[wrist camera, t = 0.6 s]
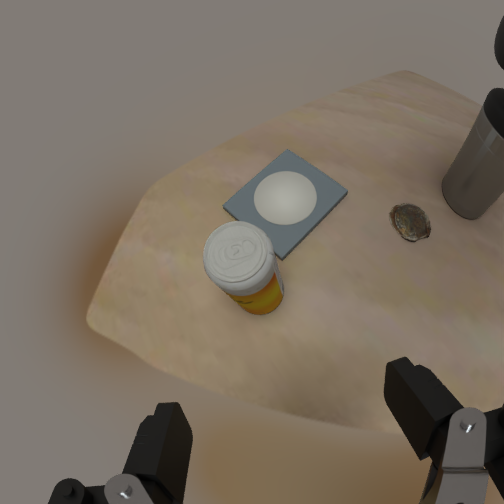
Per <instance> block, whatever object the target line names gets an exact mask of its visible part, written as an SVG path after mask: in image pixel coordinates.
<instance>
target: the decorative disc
mask: <svg viewBox="0 0 504 504" xmlns="http://www.w3.org/2000/svg"><path fill="white" fill-rule="evenodd" d="M389 214H390V215H389V218H390V222H391V225H392V227H393V228H394V230H395V231H397V233H399V234H401V235H402V237H403V238H405V239H407V240H409V241H412V242H416V240H418V239H420V238H425V237H427V238H428V237H429V235H430V230H431V227H430V221H429V218H428V216H427V215H426V214H425V212H424V211H423V210H422V209H420V208H419V207H417V206H415V205H413V204H404V203H403V204H401V205H396V206H394V207H393V209H392V210H391V212H390V213H389Z"/></svg>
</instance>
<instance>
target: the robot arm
mask: <svg viewBox="0 0 504 504" xmlns="http://www.w3.org/2000/svg"><path fill="white" fill-rule="evenodd" d="M494 49H495V56H496V59H497V62H498V64H499V65H500V66H501V68H502V69H503V70H504V16H503V18H502V20H501V22H500V25H499V28H498V31H497V34H496V38H495V45H494ZM442 190H443V194H444V197H445V199H446V201H447V202H448V204H449V205H450V207H451V208H452V209H453V210H454V211H455V212H456V213H458V214H459V215H461V216H462V217H464V218H467V219H477V218H479V217H481V216H482V215H483V214H484V213H485V211H486V210H487V209H488V208H489V207H490V206H491V205H492V204H493V203H494V202H495V201H496V200H497V199H498V198H499V197H500V195H501V194H502V193H503V192H504V89H503V88H494V89H492V90H491V91H490V92H489V94H488V95H487V98H486V100H485V102H484V104H483V106H482V108H481V110H480V113H479V115H478V117H477V119H476V121H475V123H474V125H473V127H472V129H471V131H470V133H469V135H468V137H467V138H466V140H465V142H464V144H463V146H462V148H461V149H460V151H459V153H458V155H457V157H456V158H455V160H454V162H453V163H452V165H451V167H450V168H449V170H448V172H447V174H446V175H445V177H444V179H443V182H442ZM384 398H385V401H386V404H387V406H388V407H389V409H390V411H391V412H392V414H393V416H394V417H395V419H396V421H397V422H398V424H399V426H400V427H401V429H402V431H403V432H404V434H405V436H406V437H407V439H408V441H409V442H410V444H411V446H412V448H413V449H414V451H415V453H416V454H417V456H418V457H419V459H420V460H423V459H425V458H427V457H429V456H430V458H431V459H432V463H431V466H430V470H429V473H428V477H427V480H426V484H425V487H424V490H423V493H422V496H421V499H420V502H419V504H484V501H485V495H486V489H487V484H488V475H490V477H491V478H492V480H493V482H494V483H495V485H496V487H497V489H498V490H499V492H500V494H501V496H502V498H503V499H504V404H503V406H502V407H501V408H498V409H495V410H492V411H488V412H485V413H483V412H481V411H480V410H478V409H476V408H470V407H469V408H464V407H463V406H462V405H461V404H460V402H459V401H458V400H457V399H456V398H455V397H454V396H453V395H452V393H451V392H450V391H449V390H448V389H447V388H446V387H445V386H444V385H443V384H442V382H441V381H440V380H439V379H437V377H436V376H435V375H434V374H433V372H432V371H431V370H430V369H428V368H426V367H424V366H422V365H420V364H419V365H416V366H414V365H413V364H412V363H411V361H410V360H409V359H408V358H407V357H402V358H399V359H397V360H394V361H391V362H388V363H387V365H386V374H385V384H384ZM192 441H193V435H192V430H191V427H190V425H189V423H188V421H187V419H186V417H185V415H184V413H183V411H182V408H181V406H180V404H179V403H178V402H171V403H158V405H157V407H156V410H155V413H154V415H153V416H152V415H150V416H147V417H146V418H145V419H144V421H143V422H142V423H141V424H140V426H139V429H138V431H137V436H136V437H135V440H134V444H133V445H132V447H131V450H130V453H129V456H128V459H127V461H126V464H125V467H124V469H123V472H122V474H119V475H116V476H114V477H112V478H111V479H110V480H109V481H108V482H107V483H106V485H103V486H92V487H85V486H84V485H83V484H82V483H81V482H79V481H78V480H76V479H72V478H70V479H69V478H68V479H64V480H62V481H60V482H59V483H58V484H57V485H56V486H55V488H54V490H53V492H52V495H51V497H50V500H49V502H48V504H183V499H184V492H185V485H186V478H187V473H188V466H189V460H190V454H191V448H192ZM483 466H484V467H485V468H486V469H484V467H483Z"/></svg>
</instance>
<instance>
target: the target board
mask: <svg viewBox="0 0 504 504" xmlns="http://www.w3.org/2000/svg"><path fill="white" fill-rule="evenodd" d="M347 193H348V190H347V189H345V188H344V187H343V186H341V185H340V184H339V183H337V182H336V181H334V180H333V179H331V178H330V177H329V176H327V175H326V174H324V173H323V172H321V171H320V170H319V169H317V168H316V167H314V166H313V165H311V164H310V163H308V162H307V161H305V160H304V159H302V158H301V157H299V156H298V155H296V154H294V153H293V152H291V151H290V150H288V149H287V150H285V151H284V152H283V153H282V154H281V155H280V156H278V157H277V158H276V159H275V160H274V161H272V162H271V163H270V164H269V165H268V166H267V167H265V168H264V169H263V170H262V171H261V172H260V173H258V174H257V175H256V176H255V177H254V178H253V179H252V180H250V181H249V182H248V183H247V184H246V185H245V186H244V187H242V188H241V189H240V190H239V191H238V192H237V193H236V194H235V195H233V196H232V197H231V198H230V199H229V200H228V201H227V202H226V203H225V204H223V205H222V206H223V208H224V209H225V210H226V211H227V212H228V213H229V214H230V215H232V216H233V217H234V218H235V219H236V220H237V221H243V222H247V223H250V224H252V225H255V226H257V227H259V228H260V229H262V230H263V231H264V232H265V233H266V234H267V235H268V237H269V239H270V240H271V243H272V246H273V250H274V253H275V255H277V256H278V257H279V258H280V259H281V260H283V259H284V258H285V257H286V256H287V255H288V254H289V253H290V252H291V251H292V250H293V249H294V248H295V247H296V246H297V245H298V244H299V243H300V242H301V241H302V240H303V239H304V238H305V237H306V236H307V235H308V234H309V233H310V232H311V231H312V230H313V229H314V228H315V227H316V226H317V225H318V224H319V223H320V222H321V221H322V220H323V219H324V218H325V217H326V216H327V215H328V214H329V213H330V212H331V211H332V209H333V208H334V207H335V206H336V205H337V204H338V203H339V202H340V201H341V200H342V199H343V198H344V197H345V196H346V195H347Z"/></svg>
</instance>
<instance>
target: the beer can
mask: <svg viewBox="0 0 504 504" xmlns="http://www.w3.org/2000/svg"><path fill="white" fill-rule="evenodd" d="M203 263H204V268H205V271H206V273H207V275H208V276H209V278H210V279H211V280H212V281H213V282H214V283H215V284H216V285H217V286H218V287H219V288H221V289H222V290H223V291H224V292H225V293H226V294H227V295H229V296H230V297H231V298H232V299H233V300H234V301H235V302H237V303H238V304H239V305H240V306H241V307H242V308H243V309H245V310H246V311H248V312H250V313H252V314H258V315H261V314H266V313H269V312H271V311H273V310H274V309H275V308H276V307H278V305H279V304H280V302H281V301H282V298H283V294H284V287H283V283H282V279H281V275H280V272H279V268H278V264H277V260H276V257H275V253H274V250H273V246H272V243H271V240H270V239H269V237H268V235H267V234H266V233H265V232H264V231H263V230H262V229H260V228H259V227H257V226H255V225H252V224H250V223H247V222H243V221H233V222H228V223H225V224H223V225H221V226H220V227H218V228H217V229H215V230H214V231H213V232H212V233H211V235H210V236H209V237H208V239H207V241H206V243H205V247H204V255H203Z"/></svg>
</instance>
